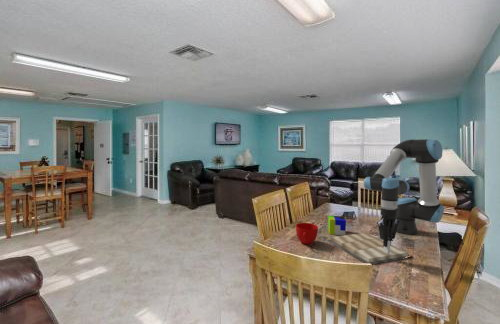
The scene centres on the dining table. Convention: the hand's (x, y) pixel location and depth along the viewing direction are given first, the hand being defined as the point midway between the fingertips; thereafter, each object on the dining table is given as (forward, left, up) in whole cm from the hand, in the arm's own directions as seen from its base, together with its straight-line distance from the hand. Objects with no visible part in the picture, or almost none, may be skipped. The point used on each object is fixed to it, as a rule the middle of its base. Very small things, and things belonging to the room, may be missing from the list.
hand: (386, 252), depth 133 cm
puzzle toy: (0, -41, -4) cm, 41 cm away
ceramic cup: (+30, -30, -4) cm, 43 cm away
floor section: (0, -13, -4) cm, 14 cm away
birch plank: (0, -3, -3) cm, 4 cm away
